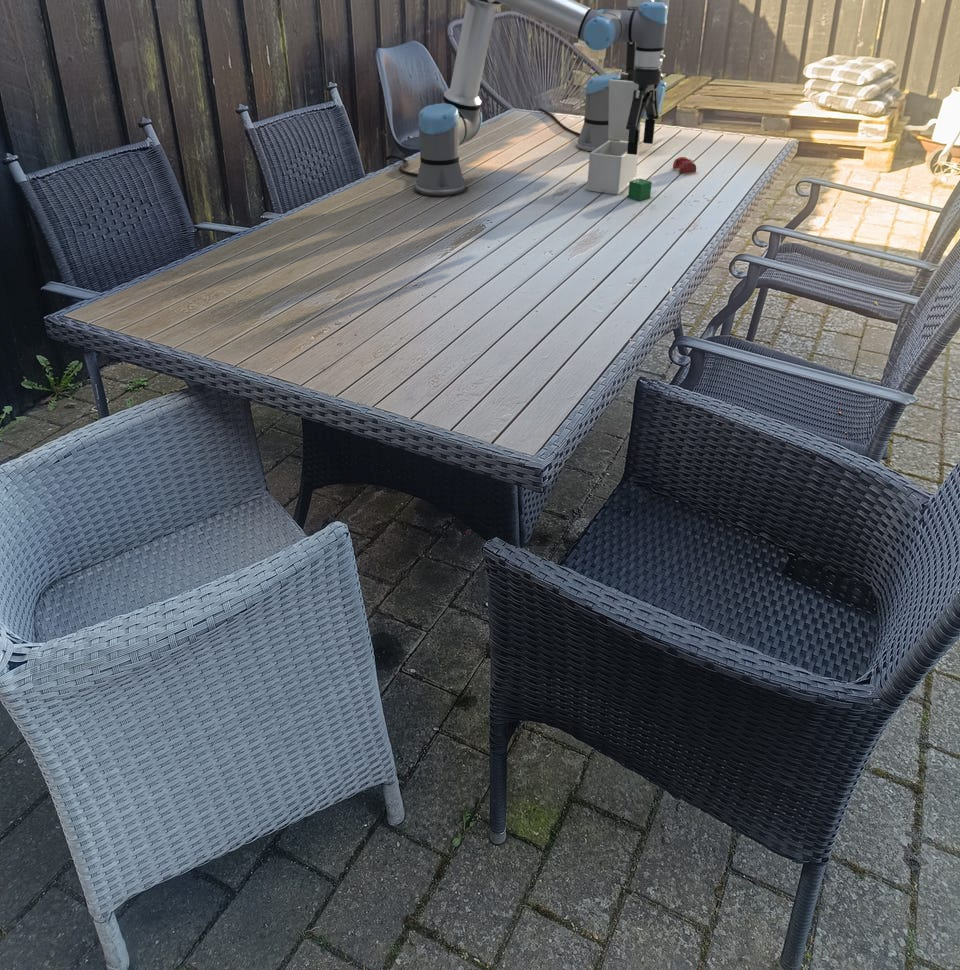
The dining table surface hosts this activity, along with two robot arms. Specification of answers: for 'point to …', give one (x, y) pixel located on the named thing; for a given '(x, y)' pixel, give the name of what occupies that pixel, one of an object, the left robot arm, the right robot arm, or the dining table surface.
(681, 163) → the dark red rounded lump
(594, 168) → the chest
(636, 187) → the block
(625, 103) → the lid
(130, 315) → the dining table surface
